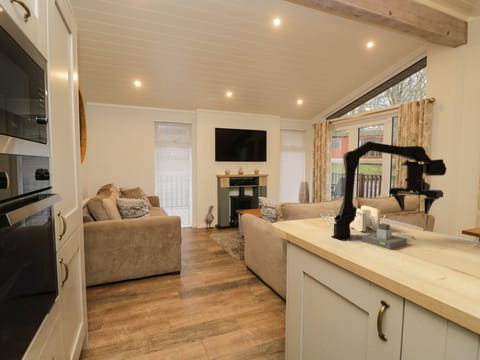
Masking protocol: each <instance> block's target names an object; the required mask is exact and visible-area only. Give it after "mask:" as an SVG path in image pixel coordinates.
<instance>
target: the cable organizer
mask: <svg viewBox="0 0 480 360" xmlns="http://www.w3.org/2000/svg"><path fill="white" fill-rule="evenodd" d="M356 208H357V211H356V217H355V219H354V221H353V222H351V223H350V225H349V226H350V227H354V228H355V229H356V230H355V229H354V230H355V231H357V230H358V231H357V232H359V231H365V232H366V229H367V228H366V227H370V228H372V231H374V232H377V228H379V224H381V211H380V209H379V208H376V207H373V206H368V205H362V206H360V208H358V207H356Z"/></svg>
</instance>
